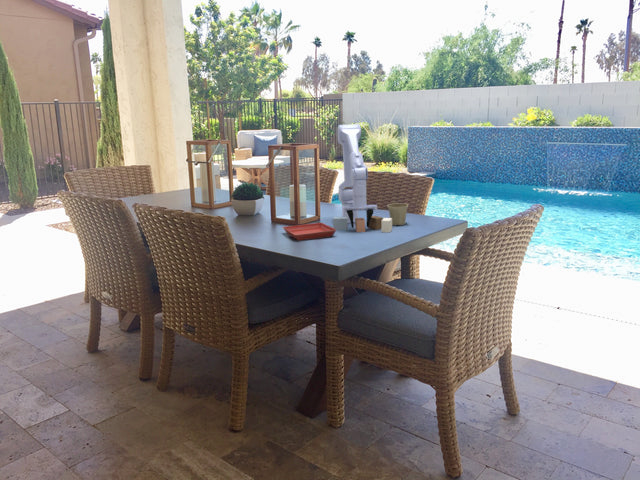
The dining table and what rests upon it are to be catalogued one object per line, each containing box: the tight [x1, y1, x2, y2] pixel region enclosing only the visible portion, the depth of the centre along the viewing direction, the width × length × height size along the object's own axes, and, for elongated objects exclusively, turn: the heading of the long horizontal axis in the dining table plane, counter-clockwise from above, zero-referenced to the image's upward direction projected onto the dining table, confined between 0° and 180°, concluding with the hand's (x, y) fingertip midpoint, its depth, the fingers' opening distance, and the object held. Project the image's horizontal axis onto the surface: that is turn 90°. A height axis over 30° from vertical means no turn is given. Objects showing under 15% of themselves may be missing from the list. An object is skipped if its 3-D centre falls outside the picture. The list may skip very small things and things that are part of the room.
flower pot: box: [386, 202, 409, 226], centre depth 234 cm, size 9×9×9 cm
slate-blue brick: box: [332, 216, 349, 231], centre depth 229 cm, size 6×4×5 cm, turn 83°
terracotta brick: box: [354, 217, 366, 233], centre depth 225 cm, size 6×4×5 cm, turn 3°
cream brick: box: [381, 217, 393, 233], centre depth 223 cm, size 6×4×5 cm, turn 163°
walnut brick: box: [367, 215, 384, 231], centre depth 228 cm, size 6×4×5 cm, turn 33°
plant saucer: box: [282, 222, 337, 241], centre depth 220 cm, size 18×18×3 cm
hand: (360, 227), depth 225 cm, fingers open, 6 cm apart
